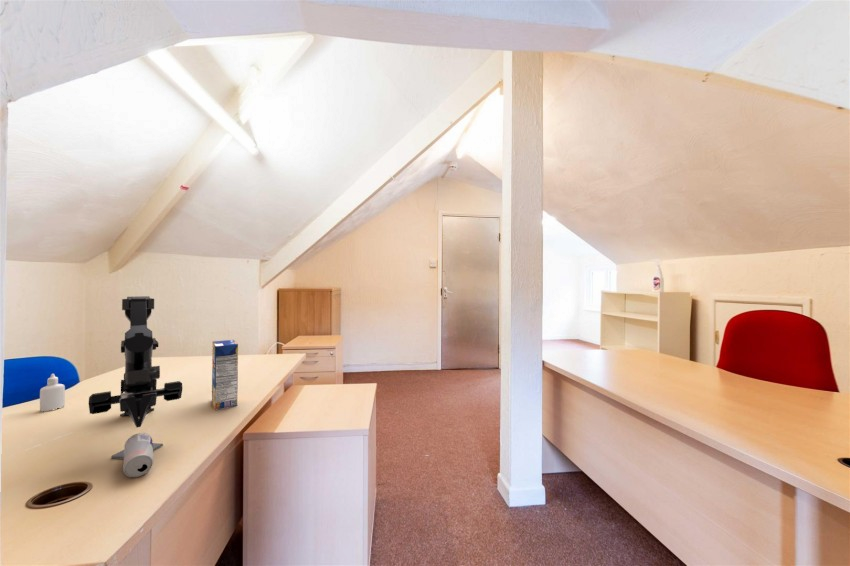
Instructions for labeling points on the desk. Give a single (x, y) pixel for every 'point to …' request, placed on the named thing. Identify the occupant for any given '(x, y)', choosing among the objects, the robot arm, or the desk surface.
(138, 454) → the energy drink
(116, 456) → the rubber coaster
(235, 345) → the beverage box
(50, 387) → the eye dropper bottle
